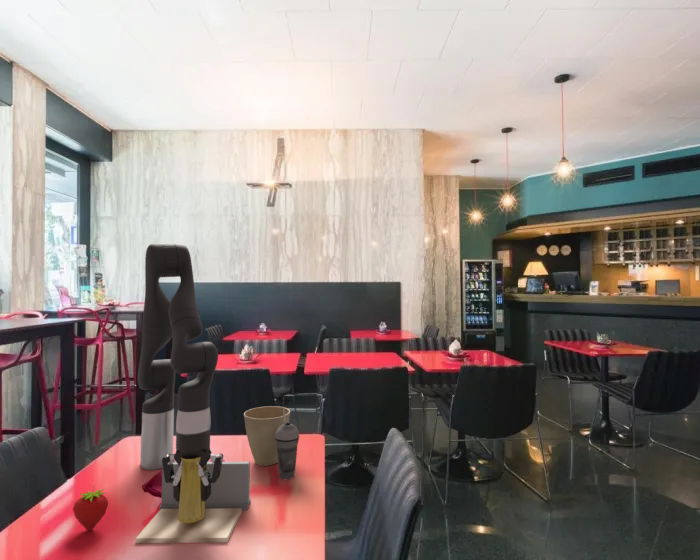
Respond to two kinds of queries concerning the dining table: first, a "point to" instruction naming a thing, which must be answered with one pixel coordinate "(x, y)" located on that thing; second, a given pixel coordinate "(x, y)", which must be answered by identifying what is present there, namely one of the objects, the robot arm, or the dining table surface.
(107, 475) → the dining table surface
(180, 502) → the vase
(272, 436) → the plant pot
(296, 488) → the dining table surface
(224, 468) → the screen
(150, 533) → the board
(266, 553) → the dining table surface
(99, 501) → the strawberry
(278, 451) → the beverage cup
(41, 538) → the dining table surface
